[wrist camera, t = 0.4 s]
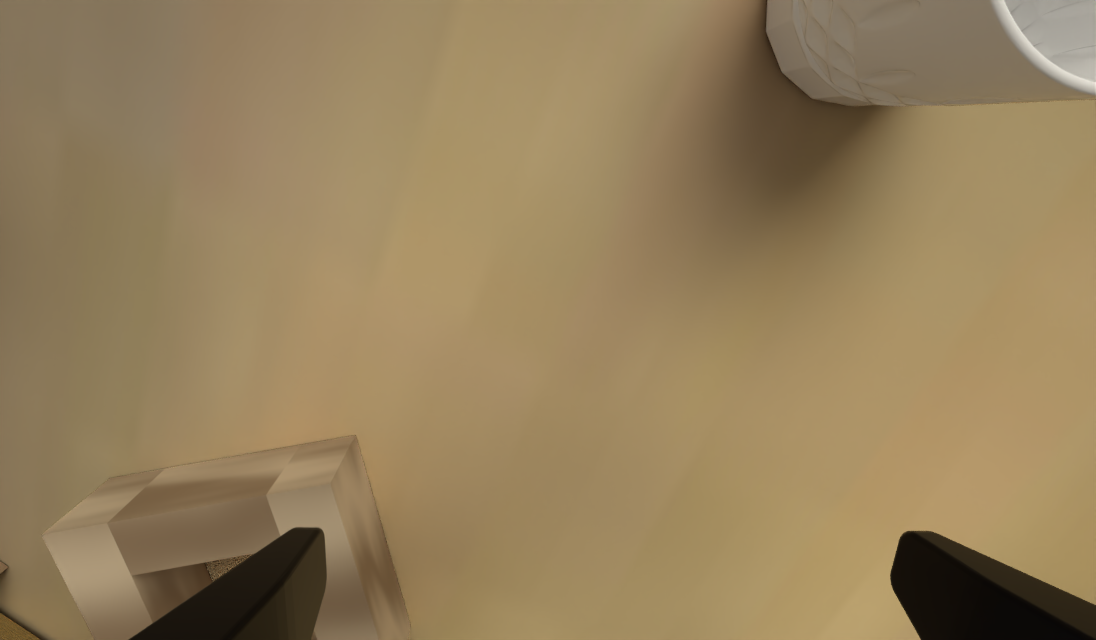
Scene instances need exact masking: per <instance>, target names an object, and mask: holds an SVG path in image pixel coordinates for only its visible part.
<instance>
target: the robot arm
mask: <svg viewBox="0 0 1096 640" xmlns="http://www.w3.org/2000/svg"><path fill="white" fill-rule="evenodd" d="M890 579H891V585H892V588H893V590H894V592H895V594H896V596H897V598H898V600H899V601H900V603H901V605H902V607H903V608H904V610H905V612H906V614H907V616H908V617H909V619H910V621H911V623H912V624H913V626H914V628H915V630H916V632H917V633H918V635H919V637H920V639H921V640H1096V605H1094V604H1092V603H1090V602H1087V601H1085V600H1083V599H1081V598H1079V597H1076V596H1074V595H1072V594H1070V593H1067V592H1065V591H1063V590H1061V589H1059V588H1056V587H1054V586H1052V585H1050V584H1048V583H1045V582H1043V581H1041V580H1039V579H1036V578H1034V577H1032V576H1030V575H1028V574H1025V573H1023V572H1021V571H1019V570H1017V569H1014V568H1012V567H1010V566H1008V565H1006V564H1003V563H1001V562H999V561H997V560H994V559H992V558H990V557H988V556H986V555H983V554H981V553H979V552H977V551H975V550H972V549H970V548H968V547H966V546H964V545H961V544H959V543H957V542H955V541H952V540H950V539H948V538H946V537H944V536H941V535H939V534H937V533H934V532H931V531H907V532H905V533H903V534H902V536H901V537H900V539H899V543H898V547H897V551H896V554H895V558H894V562H893V566H892V569H891V574H890ZM326 581H327V567H326V549H325V535H324V532H323V530H322V529H321V528H319V527H295V528H292V529H290V530H289V531H287V532H286V533H284V534H283V535H281V536H280V537H278V538H277V539H275V540H274V541H272V542H271V543H269V544H268V545H267V546H265V547H264V548H262V549H261V550H259V551H258V552H256V553H255V554H253V555H252V556H250V557H249V558H247V559H246V560H244V561H243V562H242V563H240V564H239V565H237V566H236V567H234V568H233V569H231V570H230V571H228V572H227V573H225V574H224V575H222V576H221V577H220V578H218V579H217V580H215V581H214V582H212V583H211V584H209V585H208V586H206V587H205V588H203V589H202V590H200V591H199V592H197V593H196V594H195V595H193V596H192V597H190V598H189V599H187V600H186V601H184V602H183V603H181V604H180V605H178V606H177V607H175V608H174V609H172V610H171V611H170V612H168V613H167V614H165V615H164V616H162V617H161V618H159V619H158V620H156V621H155V622H153V623H152V624H150V625H149V626H147V627H146V628H145V629H143V630H142V631H140V632H139V633H137V634H136V635H134V636H133V637H131V638H130V639H128V640H311V638H312V635H313V631H314V628H315V624H316V621H317V617H318V614H319V610H320V607H321V603H322V600H323V596H324V593H325V588H326Z"/></svg>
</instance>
